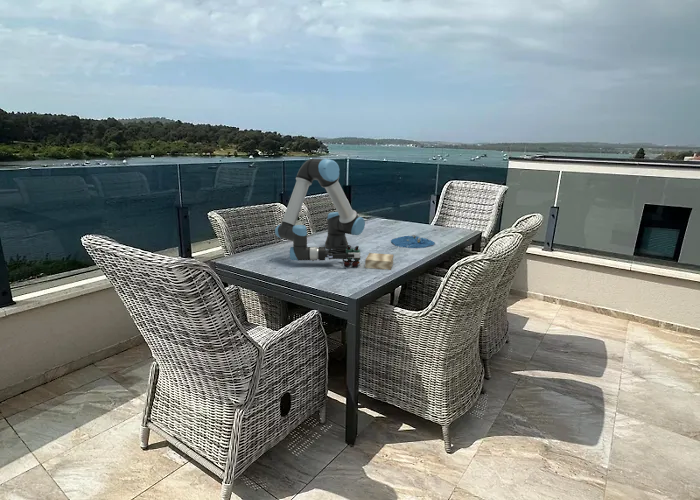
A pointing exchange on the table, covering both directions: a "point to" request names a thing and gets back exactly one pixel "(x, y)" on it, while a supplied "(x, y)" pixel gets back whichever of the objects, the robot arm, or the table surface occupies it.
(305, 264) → the table surface
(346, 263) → the binoculars
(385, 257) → the birch block
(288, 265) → the table surface
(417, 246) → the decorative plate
